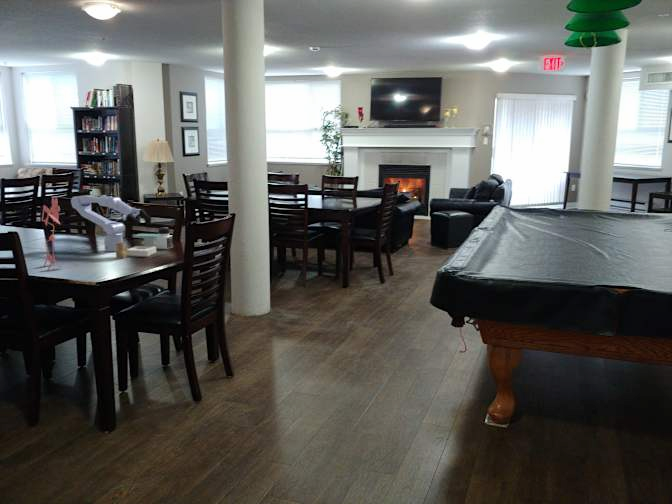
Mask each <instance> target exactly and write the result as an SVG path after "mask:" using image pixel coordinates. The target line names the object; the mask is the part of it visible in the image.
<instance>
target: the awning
mask: <svg viewBox="0 0 672 504" xmlns="http://www.w3.org/2000/svg"><path fill="white" fill-rule="evenodd" d="M160 236H161V234H159V233H137V234H134V236H133V237H134V238H143V246H150V247H156V238H158V237H160Z"/></svg>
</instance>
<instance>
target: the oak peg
mask: <svg viewBox="0 0 672 504" xmlns="http://www.w3.org/2000/svg"><path fill="white" fill-rule="evenodd" d="M126 250H127V242H123V243H116V251H115V258H116V259H120V260H121V259H122V260H124V259H126V258H127V257H128V256H127V251H126Z"/></svg>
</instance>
